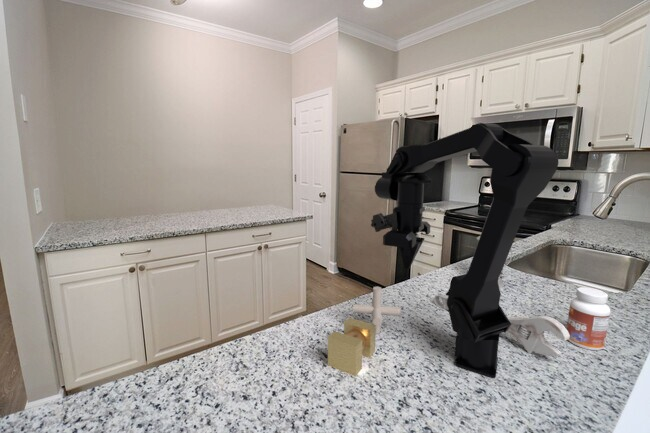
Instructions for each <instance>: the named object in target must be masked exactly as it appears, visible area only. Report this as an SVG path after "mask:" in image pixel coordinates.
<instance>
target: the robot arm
mask: <svg viewBox="0 0 650 433" xmlns="http://www.w3.org/2000/svg"><path fill="white" fill-rule="evenodd" d="M474 152H475V153H476V152H477V153H478V155H479V157H480V159H481V160H482V161H483V162H484V163H485V164H487V165H488V167H490V168H491V172H490V173H491V174H490V179H489V182H490V186H491V192H492V196H493V198H492V202H491V204H490V208H489V211H488V214H487V216H486V219H485V222H484V224H483V228H482V229H481V234H480V235H479V236H480V239H479V241H478V240H477V241H478V242H477V244H476V247H475V251H474V253H473V256H472V259H471V262H470V265H469V268H468V270H467V272H466V273H465V274H461V275H456V276H453V277H452V278H451V280H450V284H449V288H448V291H447V292H446V293H445V296H448V298H447V306H448V309H449V310H448V313H449V314H448V315H449V318H450V319H449V320H450V324H451V328H452V331H453V332H455V334H456V335H455V339H454V340H455V341H454V354H453V355H454V357H455V362H454V365H455V366H457V367H460V368H462V369H465V370H467V371H471V372H475V373H477V374H481V375H483V376H487V377H491V378H493V379H494V378H497V368H498V361H499V356H498V354H499V353H498V352H499V343H500V334H503V333H508V332H507V331H508V329H509V327H510V326H511V323H510V321H509V320H508V318H507V317H506V316H507V315H506V313H505V312H504V310H503V309H502V307H501V305H500V301H501V300H500V299H501V290H500V289H501V288H499V285H498V279H499V278H500V274H501V271H502V269H503V270H504V267H503V266H505V265H506V264H505V263H506V262H507V260H508V257H509V253H510V252H511V251H510V249H511V248H512V245H513V244H514V242H515V239H516V236H517V235H518V234H517V233H518V231H519V229H520V227H521V224H522V222H523V219H524V217H525V214H526V212H527V209H528V207H529V205H530V204H531V203H532V202H533V201H534V200H535V199H536V198H537V197H538V196H539V195H540V194H542V192H543V191H544V190H545V189H546V188H547V186H548V184H549V182H550V181H551V180H552V178H553V177H554V176H555V174H556V172H557V169H558V167H559V158H558V157H557V155H556V153H555V151H554V150H553V148H551V147H548V146H547V145H541V144H534V143H533V142H531V141H529V140H527V139H525V138H523V137H520V136H518V135H516V134H513V133H512V132H509V131H508V130H507V129H505V128H503V127H502V126H501V125H499V124H496V123H487V122H486V123H485V122H478V123H476V124H473V125H472V126H470V127H469V128H466V129H463V130H461V131H458V132H455V133H452V134H450V135H447V136H444V137H442V138H439V139H438V138H437V139H436V140H434V141H431V142H428V143H423V144H410V145H404V146H403V145H402V146H399V147H397V149H396V150H395V153H394V155H393V157H392V159H391V161H390V164H389V165H388V167H387V168H386V172H384V171H383V172H381V177H380V178H378V180H377V181H376V183H375V185H374V192H375V195H376V196H377V197H378V198H379V199H381V200H382V199H383V200H390V201H396V206H394V208H393V209H392V212H391V213H389V214H383V213H382V212H380V213H376V214H374V215H372V219H371V224H370V226H371V227H372V228H373V229H374V231H375V232H376V233H378V232H381V231H383V230H386V229H389V228H391V230H389V231H387V232H386V233H385V234H384V235H382V245H383V246H386V247H387V246H388V247H396V248H398V249H399V253H400V256H401V260H402V263H403V269H406V270H409V269H410V268H411V266H412V264H413V263H414V260H415V259H416V256H417V254H418V253H419V251H420V248H421V247H422V245H423V243H424V241H425V238H424V237H419V234H418V233H419V232H422V233H424V234H425V235H429V234H430V233H431V224H430V223H429V222H428V221H423V213H424V212H425V211H426V210H425V208H426V207H425V206H424V189H425V184H431V183H432V182H433V181H432V179H431V178H430V177H428V175H427V174H426V172H427V171H428V170H430V169H432V168H434V167H435V166H436V164H438V163H440V162H443V161H447V160H450V159H454V158H458V157H461V156H465V155H467V154H468V155H469V154H473V153H474ZM511 250H512V249H511ZM507 256H508V257H507ZM506 259H507V260H506Z"/></svg>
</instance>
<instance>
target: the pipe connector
mask: <svg viewBox="0 0 650 433" xmlns="http://www.w3.org/2000/svg"><path fill="white" fill-rule="evenodd" d="M382 291H383V289H382V287H380V286H373V288H372V299H371V304H354V303H353V306H352V307H353V310H352V313H354V314H364V315H365V314H366V315H367V314H368V315H372V316H371V324H373V325H376V333H375V335H379V334H381V326H382V324H383V318H382V317H383V316H394V317H395V316H396V317H401V316H402V315H401V314H402V308H401V306H390V305H389V306H386V305H382V296H383V295H382V294H383V293H382ZM382 315H383V316H382Z"/></svg>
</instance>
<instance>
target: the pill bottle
mask: <svg viewBox="0 0 650 433" xmlns="http://www.w3.org/2000/svg"><path fill="white" fill-rule="evenodd" d="M575 293H576V297H574V298H572V299H571V300H570V303H569V309H568V317H567V323H566V327H565V328H566V329H567V331H568V333H569V335H570V338H569V339H568V340H567V341H569V343H572V344H573V345H575V346H577V347H580V348H582V349H584V350H585V349H586V350H588V351H600V350H603V349H604V348H605V345H606V340H607V333H608V328H609V323H610V318H611V309H610V308H611V307H609V305H608V304H607V302H608V299H609V298H608V297H609V295H608V294H607V293H606V292H605V291H602V290H600V289H596V288H593V287H585V286H581V287H577V289H576V292H575Z"/></svg>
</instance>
